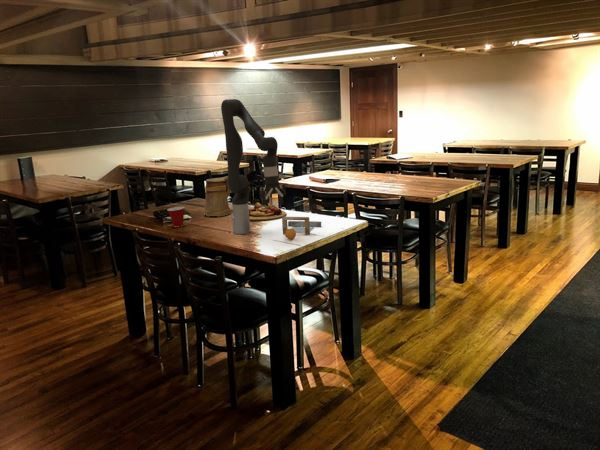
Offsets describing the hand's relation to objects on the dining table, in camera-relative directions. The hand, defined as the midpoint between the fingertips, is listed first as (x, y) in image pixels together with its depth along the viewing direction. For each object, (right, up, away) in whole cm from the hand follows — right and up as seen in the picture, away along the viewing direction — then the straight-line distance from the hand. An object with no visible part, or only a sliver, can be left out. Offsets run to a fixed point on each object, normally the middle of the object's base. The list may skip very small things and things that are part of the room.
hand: (274, 204), depth 269 cm
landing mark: (+14, -14, +20) cm, 28 cm away
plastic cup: (-63, -12, +44) cm, 78 cm away
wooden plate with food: (-11, -6, +62) cm, 64 cm away
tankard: (-41, -3, +76) cm, 86 cm away
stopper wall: (+17, -12, +28) cm, 35 cm away
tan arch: (+12, -16, +11) cm, 23 cm away
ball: (+9, -16, 0) cm, 18 cm away
